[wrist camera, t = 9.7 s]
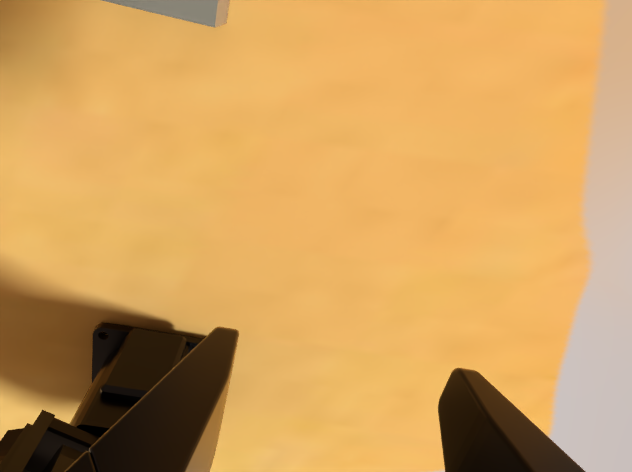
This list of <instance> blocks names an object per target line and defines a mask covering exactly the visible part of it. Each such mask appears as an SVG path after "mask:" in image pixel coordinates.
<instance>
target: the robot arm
mask: <svg viewBox="0 0 632 472" xmlns="http://www.w3.org/2000/svg"><path fill="white" fill-rule="evenodd" d="M102 332H106V333H107V334H108V335H106V334H103V333H102ZM238 337H239V332H238V331H237V330H235V329H230V328H224V327H217V328H215V329H214V330H213V331H212V332H211V333H210V334H209V335H208V336H206V337H205V338H204V339H200V338H194V337H188V336H182V335H176V334H170V333H164V332H158V331H152V330H146V329H140V328H134V327H128V326H122V325H116V324H110V323H101V324H99V325H98V326H97V327H96V329H95V330H94V332H93V358H92V385H91V386H90V388H89V390H88V392H87V394H86V395H85V397H84V399H83V401H82V403H81V404H80V406H79V408H78V410H77V412H76V413H75V415H74V417H73V419H72V420H71V422H70V424H68V423H66V422H63V421H61V420H59V419H56V418H54V416H55V415H53V414H51V413H49V412H46V411H44V410H42V412H41V413H40V415H39V416H38V418H37V419H36V421H35V422H34V424H33V425H31V424H28V423H27V425H26V426H25V428H22V429H15V430H8V431H7V432H6V434H5V435H4V437H3V438H2V440H1V441H0V472H209V471H210V468H211V465H212V462H213V458H214V455H215V451H216V446H217V442H218V437H219V432H220V427H221V423H222V418H223V413H224V408H225V403H226V398H227V393H228V388H229V383H230V378H231V373H232V368H233V363H234V358H235V353H236V347H237V342H238ZM438 413H439V422H440V430H441V439H442V448H443V456H444V465H445V472H585V471H584V470H583V469H582V468H581V467H580V466H579V465H577V463H576V462H574V461H573V460H572V459H571V458H570V457H569V456H568V455H567V454H566V453H565V452H564V451H563V450H561V449H560V448H559V447H558V446H557V445H556V444H555V443H554V442H553V441H552V440H551V439H550V438H549V437H548V436H546V435H545V434H544V433H543V432H542V431H541V430H540V429H539V428H538V427H537V426H536V425H535V424H534V423H532V422H531V421H530V420H529V419H528V418H527V417H526V416H525V415H524V414H523V413H522V412H521V411H520V410H518V409H517V408H516V407H515V406H514V405H513V404H512V403H511V402H510V401H509V400H508V399H507V398H506V397H504V396H503V395H502V394H501V393H500V392H499V391H498V390H497V389H496V388H495V387H494V386H493V385H492V384H490V383H489V382H488V381H487V380H486V379H485V378H484V377H483V376H482V375H481V374H480V373H478V372H477V371H474V370H469V369H463V368H456V369H454V370H453V371H452V373H451V375H450V377H449V379H448V382H447V384H446V386H445V388H444V390H443V392H442V395H441V397H440V400H439V405H438Z"/></svg>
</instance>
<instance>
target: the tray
mask: <svg viewBox="0 0 632 472" xmlns="http://www.w3.org/2000/svg"><path fill="white" fill-rule="evenodd" d="M102 1H107V2H111V3H115V4H119V5H123V6H127V7H132V8H136V9H140V10H144V11H148V12H152V13H157V14H161V15H165V16H169V17H173V18H177V19H182V20H186V21H190V22H194V23H198V24H202V25H207V26H211V27H218V26H221V25H223V24H226V23H227V15H228V7H229V0H102Z"/></svg>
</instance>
